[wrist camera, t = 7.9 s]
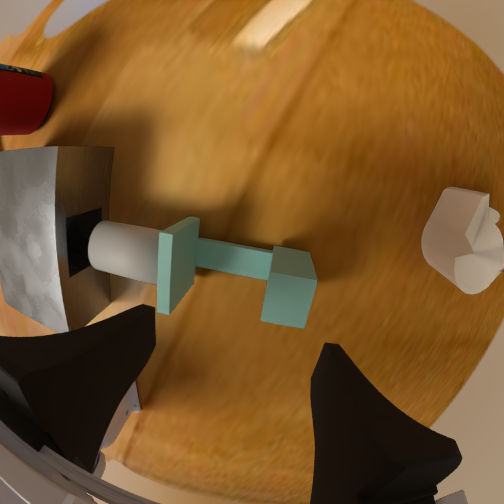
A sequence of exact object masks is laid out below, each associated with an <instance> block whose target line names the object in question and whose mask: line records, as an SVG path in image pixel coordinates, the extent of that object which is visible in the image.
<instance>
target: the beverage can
mask: <svg viewBox="0 0 504 504" xmlns="http://www.w3.org/2000/svg"><path fill="white" fill-rule="evenodd" d="M52 92H53V85H52V80H51V78H50V76H49V75H48V74H45V73H41V72H38V71H34V70H29V69H25V68H20V67H15V66H10V65H4V64H0V136H1V135H28V134H31V133H33V132H34V131H35V130H36V129H37V128H38V127H39V126H40V125H41V123H42V122H43V120H44V118H45V116H46V114H47V112H48V110H49V107H50V104H51V99H52Z"/></svg>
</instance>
